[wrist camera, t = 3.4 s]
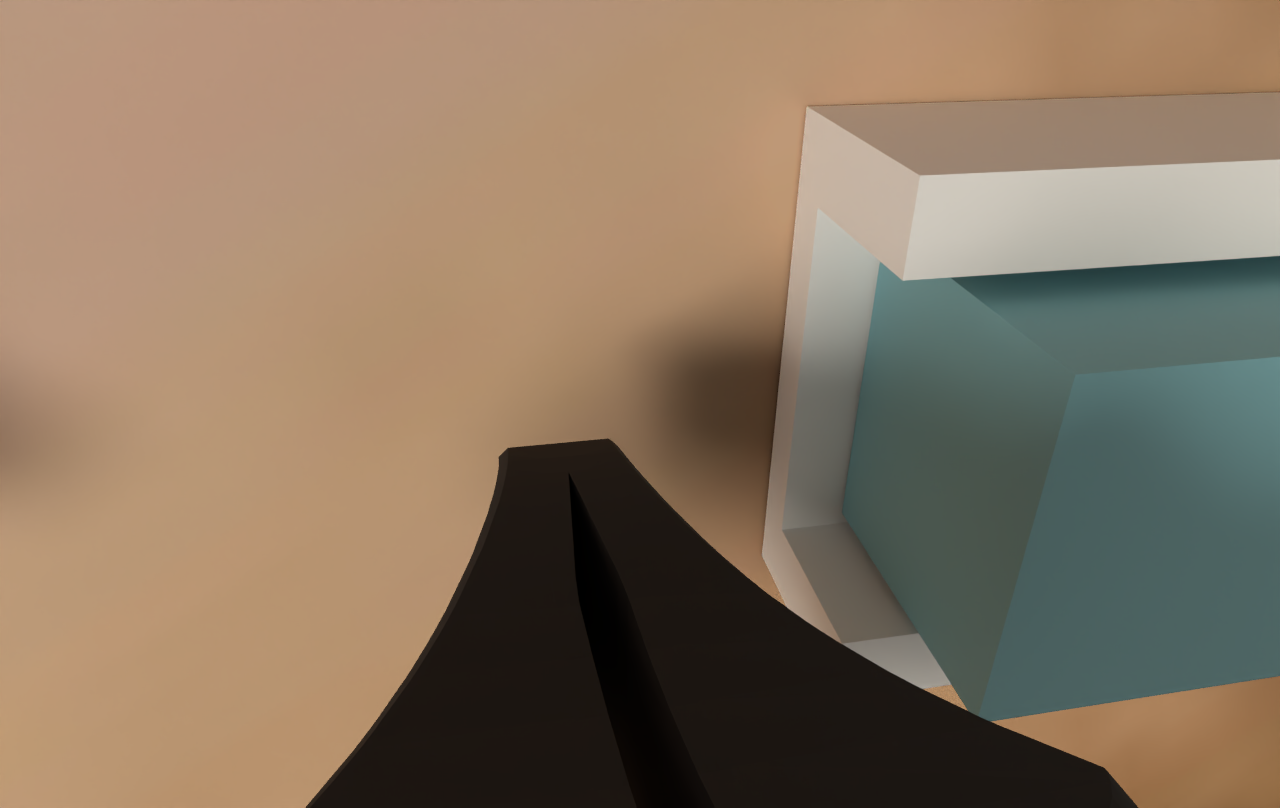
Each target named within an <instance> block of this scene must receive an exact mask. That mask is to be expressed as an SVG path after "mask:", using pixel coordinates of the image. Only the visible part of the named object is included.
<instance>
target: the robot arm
mask: <svg viewBox="0 0 1280 808" xmlns="http://www.w3.org/2000/svg"><path fill="white" fill-rule="evenodd" d="M306 808H1138V807H1137V806H1136V804H1135V803H1134V802H1133V801H1132V800H1131V798H1130V797H1129V796H1128V795H1127V794H1126V792H1125V791H1124V790H1123V789H1122V788H1121V787H1120V785H1119V784H1118V783H1117V782H1116V781H1115V780H1114V778H1113V777H1112V776H1111V775H1110V774H1109V773H1108V771H1107V770H1106V769H1105V768H1103V767H1101V766H1098V765H1096V764H1093V763H1091V762H1089V761H1086V760H1084V759H1081V758H1079V757H1076V756H1074V755H1071V754H1069V753H1066V752H1064V751H1061V750H1059V749H1056V748H1054V747H1051V746H1049V745H1046V744H1044V743H1041V742H1039V741H1036V740H1034V739H1031V738H1029V737H1027V736H1024V735H1022V734H1019V733H1017V732H1014V731H1012V730H1009V729H1007V728H1004V727H1002V726H999V725H997V724H994V723H992V722H990V721H988V720H986V719H983V718H981V717H979V716H977V715H975V714H973V713H971V712H969V711H967V710H964V709H962V708H960V707H958V706H956V705H954V704H952V703H950V702H948V701H946V700H944V699H942V698H940V697H937V696H935V695H933V694H931V693H929V692H927V691H925V690H923V689H921V688H919V687H917V686H916V685H914V684H912V683H910V682H908V681H906V680H904V679H902V678H900V677H898V676H897V675H895V674H893V673H891V672H889V671H887V670H885V669H884V668H882V667H880V666H879V665H877V664H875V663H873V662H872V661H870V660H868V659H867V658H865V657H863V656H862V655H860V654H858V653H856V652H855V651H853V650H851V649H850V648H848V647H846V646H845V645H843V644H841V643H839V642H838V641H836V640H834V639H833V638H831V637H830V636H828V635H827V634H825V633H824V632H822V631H820V630H819V629H817V628H816V627H814V626H813V625H811V624H810V623H808V622H807V621H805V620H804V619H802V618H801V617H800V616H798V615H797V614H795V613H794V612H793V611H791V610H790V609H788V608H787V607H786V606H784V605H783V604H781V603H780V602H779V601H777V600H776V599H774V598H773V597H771V596H770V595H769V594H767V593H766V592H765V591H763V590H762V589H761V588H760V587H758V586H757V585H756V584H755V583H754V582H752V581H751V580H750V579H749V578H747V577H746V576H745V575H744V574H743V573H741V572H740V571H739V570H738V569H737V568H736V567H734V566H733V565H732V564H731V563H730V562H729V561H728V560H726V559H725V558H724V557H723V556H722V555H721V554H719V553H718V552H717V551H716V550H715V549H714V548H713V547H712V546H711V545H710V544H709V543H707V542H706V541H705V540H704V539H703V538H702V537H701V536H700V535H699V534H698V533H697V532H696V531H695V530H694V529H693V528H692V527H691V526H690V525H689V524H688V523H687V522H686V521H685V520H684V519H683V518H682V517H681V516H680V515H679V514H678V513H677V512H676V511H675V510H674V509H673V508H672V507H671V506H670V505H669V504H668V503H667V502H666V501H665V500H664V499H663V498H662V497H661V496H660V495H659V494H658V492H657V491H656V490H655V489H654V488H653V487H652V486H651V485H650V484H649V483H648V481H647V480H646V479H645V478H644V477H643V476H642V475H641V473H640V472H639V471H638V470H637V469H636V468H635V467H634V465H633V464H632V463H631V462H630V461H629V459H628V458H627V457H626V456H625V455H624V453H623V452H622V451H621V450H620V448H619V447H618V446H617V445H616V444H615V443H613V442H612V441H611V440H610V439H600V440H589V441H578V442H567V443H557V444H546V445H535V446H524V447H513V448H507V449H506V450H505V451H504V452H503V453H502V454H501V455H500V456H499V470H498V476H497V482H496V486H495V490H494V494H493V498H492V501H491V504H490V508H489V511H488V514H487V517H486V520H485V523H484V525H483V528H482V530H481V533H480V536H479V538H478V541H477V544H476V546H475V549H474V552H473V554H472V556H471V559H470V561H469V563H468V566H467V568H466V570H465V572H464V574H463V576H462V578H461V580H460V582H459V584H458V586H457V589H456V591H455V593H454V595H453V597H452V599H451V601H450V603H449V605H448V607H447V609H446V611H445V613H444V615H443V617H442V618H441V620H440V622H439V624H438V626H437V628H436V629H435V631H434V633H433V635H432V636H431V638H430V640H429V642H428V643H427V645H426V647H425V648H424V650H423V651H422V653H421V655H420V656H419V658H418V660H417V661H416V663H415V664H414V666H413V668H412V669H411V671H410V672H409V674H408V676H407V677H406V679H405V680H404V681H403V683H402V684H401V686H400V687H399V689H398V690H397V692H396V693H395V694H394V696H393V697H392V699H391V700H390V702H389V703H388V705H387V706H386V707H385V709H384V710H383V712H382V713H381V715H380V716H379V717H378V719H377V720H376V722H375V723H374V724H373V726H372V727H371V728H370V730H369V731H368V732H367V734H366V735H365V736H364V738H363V739H362V740H361V742H360V743H359V744H358V745H357V747H356V748H355V749H354V751H353V752H352V753H351V754H350V755H349V757H348V758H347V759H346V760H345V761H344V762H343V764H342V765H341V766H340V767H339V768H338V770H337V771H336V772H335V773H334V774H333V775H332V777H331V778H330V779H329V780H328V781H327V783H326V784H325V785H324V786H323V787H322V789H321V790H320V791H319V792H318V793H317V794H316V796H315V797H314V798H313V799H312V800H311V802H310V803H309V804H308V805H307V806H306Z"/></svg>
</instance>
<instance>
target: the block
mask: <svg viewBox="0 0 1280 808" xmlns="http://www.w3.org/2000/svg"><path fill="white" fill-rule="evenodd" d="M842 514H843V515H844V517H845V519H846V520H847V522H848V523H849V525H850V526H851V528H852V530H853V531H854V533H855V534H856V536H857V537H858V539H859V540H860V542H861V544H862V545H863V547H864V548H865V550H866V551H867V553H868V555H869V556H870V558H871V559H872V561H873V562H874V564H875V566H876V567H877V569H878V570H879V572H880V573H881V575H882V576H883V578H884V580H885V581H886V583H887V584H888V586H889V587H890V589H891V591H892V592H893V594H894V595H895V597H896V598H897V600H898V602H899V603H900V605H901V606H902V608H903V609H904V611H905V613H906V614H907V616H908V617H909V619H910V620H911V622H912V623H913V625H914V627H915V628H916V630H917V631H918V633H919V634H920V636H921V638H922V639H923V641H924V642H925V644H926V645H927V647H928V649H929V650H930V652H931V653H932V655H933V656H934V658H935V659H936V661H937V663H938V664H939V666H940V667H941V669H942V670H943V672H944V674H945V675H946V677H947V678H948V680H949V681H950V683H951V685H952V686H953V688H954V689H955V691H956V692H957V694H958V696H959V697H960V699H961V700H962V702H963V703H964V705H965V706H966V708H967V710H968V711H969V712H971V713H973V714H975V715H977V716H979V717H981V718H983V719H986V720H988V721H996V720H1002V719H1009V718H1015V717H1021V716H1028V715H1034V714H1040V713H1047V712H1053V711H1060V710H1066V709H1072V708H1079V707H1085V706H1091V705H1098V704H1104V703H1110V702H1117V701H1123V700H1130V699H1136V698H1142V697H1149V696H1155V695H1161V694H1168V693H1174V692H1180V691H1187V690H1193V689H1200V688H1206V687H1212V686H1219V685H1225V684H1231V683H1238V682H1244V681H1250V680H1257V679H1263V678H1270V677H1276V676H1280V256H1270V257H1255V258H1240V259H1224V260H1209V261H1194V262H1179V263H1164V264H1148V265H1133V266H1118V267H1103V268H1088V269H1072V270H1057V271H1042V272H1027V273H1012V274H996V275H981V276H966V277H951V278H936V279H920V280H905V281H902V280H901V279H900V278H899V277H898V276H897V275H895V274H894V273H893V272H892V271H891V270H890V269H888V268H887V267H886V266H885V265H884V264H883V263H881V262H880V264H879V271H878V277H877V284H876V290H875V297H874V304H873V310H872V317H871V323H870V330H869V337H868V343H867V350H866V356H865V363H864V370H863V376H862V383H861V389H860V396H859V403H858V409H857V416H856V422H855V429H854V436H853V442H852V449H851V455H850V462H849V469H848V475H847V482H846V488H845V495H844V501H843V508H842Z"/></svg>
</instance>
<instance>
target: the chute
mask: <svg viewBox="0 0 1280 808" xmlns="http://www.w3.org/2000/svg"><path fill="white" fill-rule="evenodd" d="M1270 256H1280V92H1266V93H1232V94H1199V95H1166V96H1133V97H1100V98H1067V99H1034V100H1001V101H968V102H934V103H901V104H868V105H835V106H807V109H806V119H805V129H804V139H803V149H802V159H801V169H800V179H799V189H798V199H797V209H796V219H795V229H794V239H793V249H792V259H791V269H790V279H789V289H788V299H787V309H786V319H785V329H784V339H783V349H782V359H781V369H780V379H779V389H778V399H777V409H776V419H775V429H774V439H773V449H772V459H771V469H770V479H769V489H768V499H767V509H766V519H765V529H764V539H763V549H762V557H763V559H764V561H765V563H766V565H767V567H768V569H769V571H770V573H771V575H772V578H773V580H774V582H775V584H776V586H777V588H778V590H779V592H780V594H781V596H782V598H783V601H784V603H785V605H786V607H787V608H788V609H790V610H791V611H793V612H794V613H795V614H797V615H798V616H800V617H801V618H802V619H804V620H805V621H807V622H808V623H810V624H811V625H813V626H814V627H816V628H817V629H819V630H820V631H822V632H824V633H825V634H827V635H828V636H830V637H831V638H833V639H834V640H836V641H838V642H839V643H841V644H843V645H845V646H846V647H848V648H850V649H851V650H853V651H855V652H856V653H858V654H860V655H862V656H863V657H865V658H867V659H868V660H870V661H872V662H873V663H875V664H877V665H879V666H880V667H882V668H884V669H885V670H887V671H889V672H891V673H893V674H895V675H897V676H898V677H900V678H902V679H904V680H906V681H908V682H910V683H912V684H914V685H916V686H917V687H919V688H921V689H925V688H932V687H938V686H945V685H951V683H950V681H949V680H948V678H947V677H946V675H945V674H944V672H943V670H942V669H941V667H940V666H939V664H938V663H937V661H936V659H935V658H934V656H933V655H932V653H931V652H930V650H929V649H928V647H927V645H926V644H925V642H924V641H923V639H922V638H921V636H920V634H919V633H918V631H917V630H916V628H915V627H914V625H913V623H912V622H911V620H910V619H909V617H908V616H907V614H906V613H905V611H904V609H903V608H902V606H901V605H900V603H899V602H898V600H897V598H896V597H895V595H894V594H893V592H892V591H891V589H890V587H889V586H888V584H887V583H886V581H885V580H884V578H883V576H882V575H881V573H880V572H879V570H878V569H877V567H876V566H875V564H874V562H873V561H872V559H871V558H870V556H869V555H868V553H867V551H866V550H865V548H864V547H863V545H862V544H861V542H860V540H859V539H858V537H857V536H856V534H855V533H854V531H853V530H852V528H851V526H850V525H849V523H848V522H847V520H846V519H845V517H844V515H843V514H842V508H843V501H844V495H845V488H846V482H847V475H848V469H849V462H850V455H851V449H852V442H853V436H854V429H855V422H856V416H857V409H858V403H859V396H860V389H861V383H862V376H863V370H864V363H865V356H866V350H867V343H868V337H869V330H870V323H871V317H872V310H873V304H874V297H875V290H876V284H877V277H878V271H879V264H880V262H881V263H883V264H884V265H885V266H886V267H887V268H888V269H890V270H891V271H892V272H893V273H894V274H895V275H897V276H898V277H899V278H900V279H901V280H902V281H905V280H920V279H936V278H951V277H966V276H981V275H996V274H1012V273H1027V272H1042V271H1057V270H1072V269H1088V268H1103V267H1118V266H1133V265H1148V264H1164V263H1179V262H1194V261H1209V260H1224V259H1240V258H1255V257H1270Z"/></svg>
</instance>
